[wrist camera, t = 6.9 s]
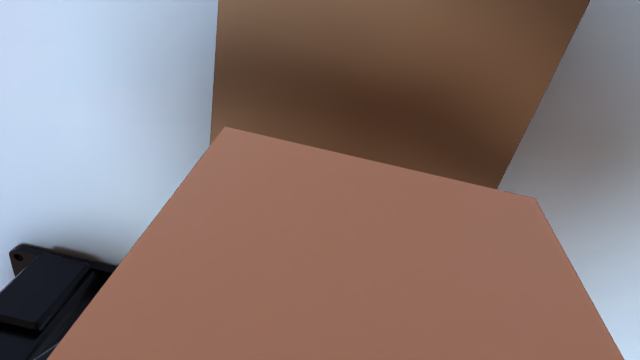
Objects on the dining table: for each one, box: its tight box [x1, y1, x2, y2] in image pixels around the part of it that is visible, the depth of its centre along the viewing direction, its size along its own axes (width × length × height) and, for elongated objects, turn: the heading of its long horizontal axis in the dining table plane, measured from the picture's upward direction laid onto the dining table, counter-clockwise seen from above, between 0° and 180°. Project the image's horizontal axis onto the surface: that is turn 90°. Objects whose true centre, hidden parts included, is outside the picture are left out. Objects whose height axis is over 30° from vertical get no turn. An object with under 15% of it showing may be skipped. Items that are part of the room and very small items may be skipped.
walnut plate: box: [210, 0, 590, 189], centre depth 16 cm, size 11×11×2 cm
